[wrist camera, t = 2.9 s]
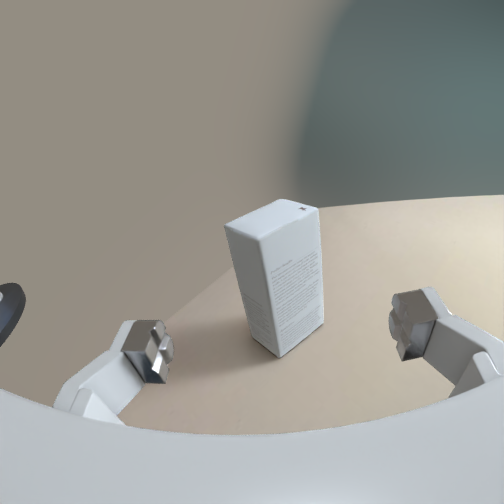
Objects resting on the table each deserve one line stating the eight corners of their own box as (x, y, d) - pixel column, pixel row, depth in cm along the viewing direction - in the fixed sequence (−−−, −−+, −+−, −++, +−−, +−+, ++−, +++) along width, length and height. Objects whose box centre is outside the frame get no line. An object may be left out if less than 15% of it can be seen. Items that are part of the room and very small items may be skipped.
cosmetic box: (293, 305, 30) (281, 196, 24) (324, 324, 27) (321, 207, 21) (248, 337, 27) (221, 223, 21) (278, 361, 24) (258, 239, 18)
